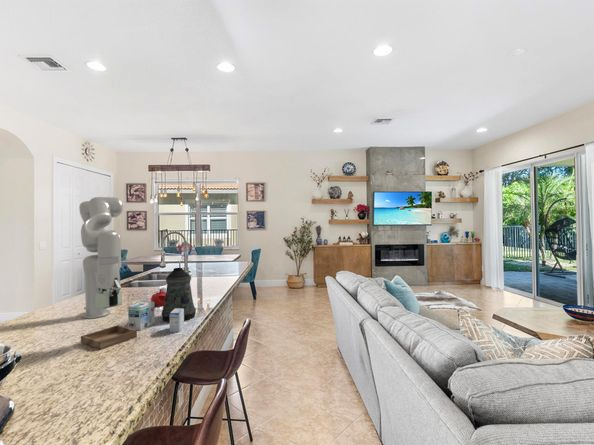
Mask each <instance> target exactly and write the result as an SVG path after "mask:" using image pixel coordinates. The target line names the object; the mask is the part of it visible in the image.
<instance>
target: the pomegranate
mask: <svg viewBox="0 0 594 445" xmlns="http://www.w3.org/2000/svg"><path fill="white" fill-rule="evenodd" d="M165 296H166V291H164V290H163V289H162V288H159V290H158V291H154V292H153V293H152V295H151V297H150V301H151V302H154V307H162V306H163V307H164V303H165Z"/></svg>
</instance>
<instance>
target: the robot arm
mask: <svg viewBox="0 0 594 445" xmlns="http://www.w3.org/2000/svg"><path fill="white" fill-rule="evenodd" d="M123 209H124V206H123V202H122V200H121V198H119V197H114V196H113V197H111V196H109V197H107V196H97V197H92V198H91V199H89V200H86V201H82V202H81V203H80V204H79V208H78V210H79V215H80V217H81V219H82V221H83V224H82V226H81V229H80V238H81V243H82V246H83V247H84V248H86V251H87V252H89V253H97V254H93V255H88V256H85V257H84V258H83V260H82V267H83V273H84V285H85V286H84V287H85V288H84V290H85V292H84V294H85V295H84V296H85V297H84V298H85V307H84V308H83V309H84V310H85V312H84V313H82V316H81V317H82V319H98V318H103V317H107V316H108V315H110V314H111V310H109V309H108V308H106V309H100V308H96V307H95V293H97V292H102V291H107V290H109V291H110V296H109V305H110V306H114V305H117V304H118V293H119V291H120V290H122V287H121V275H120V270H121V267H122V248H121V247H122V243H121V235H120V234H119V232H118V231H116V230H105V228H106V227H107V226H109V225H110V224H111V223H112V220H113V218H117V217H119V216H120V215H121V214H122V213H123ZM112 290H114V291H112ZM114 307H115V306H114Z"/></svg>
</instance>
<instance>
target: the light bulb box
mask: <svg viewBox="0 0 594 445" xmlns="http://www.w3.org/2000/svg"><path fill="white" fill-rule="evenodd" d="M127 307H128V308H127V312H128V313H127V316H128V319H127V320H128V328H130V329H134V330H137V331H142V330H145V329H146V328H148V327H150V326H152V325H155V306H154V302H151V300H150V301H149V300H148V301H147V300H141V301H140V302H136V303H134V304H131V305H128V306H127Z"/></svg>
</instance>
